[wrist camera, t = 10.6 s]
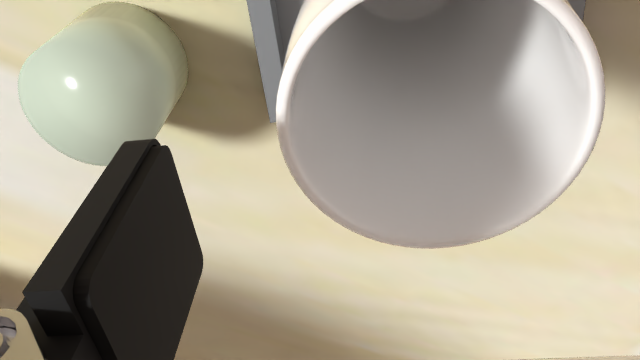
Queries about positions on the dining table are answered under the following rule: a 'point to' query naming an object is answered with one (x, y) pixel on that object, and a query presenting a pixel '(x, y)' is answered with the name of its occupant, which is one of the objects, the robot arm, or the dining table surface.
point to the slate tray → (274, 33)
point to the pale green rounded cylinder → (103, 81)
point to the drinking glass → (437, 113)
